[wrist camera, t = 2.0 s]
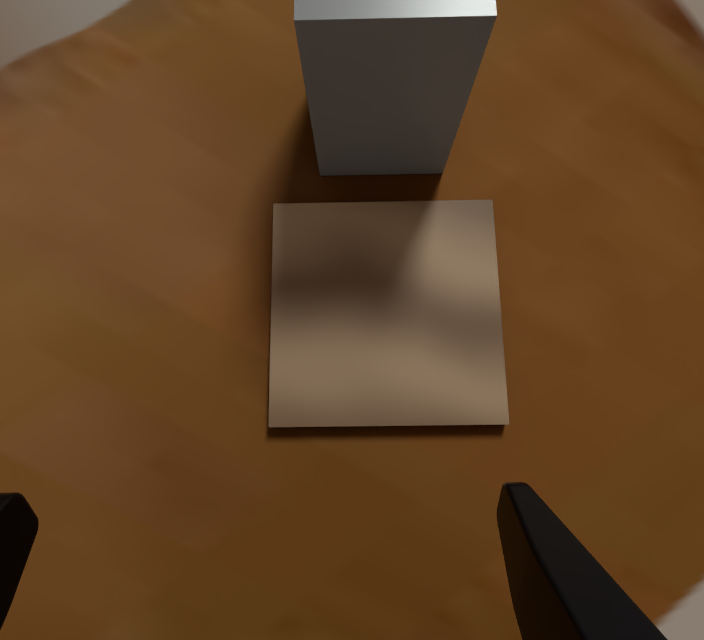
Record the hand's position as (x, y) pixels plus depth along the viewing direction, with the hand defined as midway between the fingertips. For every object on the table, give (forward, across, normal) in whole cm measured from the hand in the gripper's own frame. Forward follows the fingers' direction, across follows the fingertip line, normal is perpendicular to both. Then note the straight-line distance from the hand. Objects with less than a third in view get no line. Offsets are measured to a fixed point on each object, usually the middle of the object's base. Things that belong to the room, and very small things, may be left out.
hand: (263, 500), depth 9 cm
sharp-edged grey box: (+22, -3, -3) cm, 22 cm away
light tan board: (+14, -3, +5) cm, 15 cm away
